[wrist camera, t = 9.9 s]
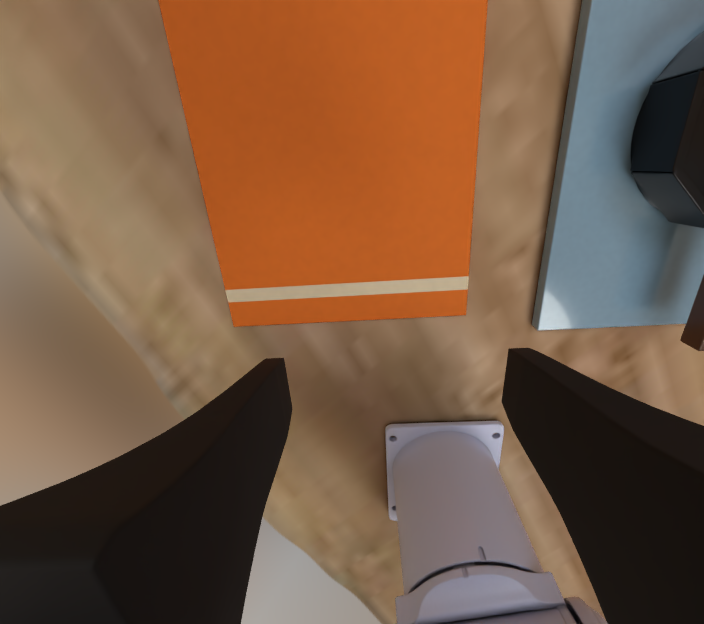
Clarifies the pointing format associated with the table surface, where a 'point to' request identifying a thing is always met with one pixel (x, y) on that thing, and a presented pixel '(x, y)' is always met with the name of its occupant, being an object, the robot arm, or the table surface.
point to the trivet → (616, 180)
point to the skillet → (675, 154)
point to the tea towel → (334, 151)
